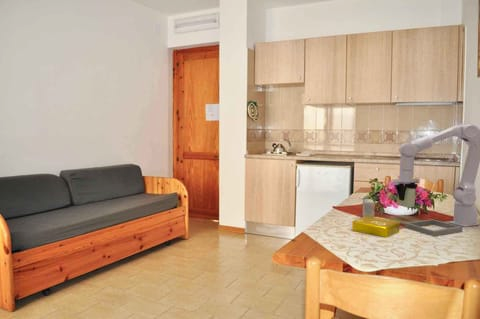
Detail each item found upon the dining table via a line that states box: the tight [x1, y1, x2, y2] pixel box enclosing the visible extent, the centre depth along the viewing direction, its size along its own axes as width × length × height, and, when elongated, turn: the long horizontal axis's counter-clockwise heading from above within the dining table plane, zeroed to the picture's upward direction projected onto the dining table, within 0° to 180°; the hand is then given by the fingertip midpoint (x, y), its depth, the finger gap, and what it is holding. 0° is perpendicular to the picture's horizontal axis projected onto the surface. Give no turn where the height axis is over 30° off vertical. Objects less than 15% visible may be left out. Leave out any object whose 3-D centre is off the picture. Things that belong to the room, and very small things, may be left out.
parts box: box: [396, 188, 416, 208], centre depth 174 cm, size 4×6×8 cm, turn 25°
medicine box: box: [361, 198, 375, 218], centre depth 179 cm, size 8×4×9 cm, turn 168°
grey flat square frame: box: [404, 218, 464, 237], centre depth 162 cm, size 17×14×2 cm
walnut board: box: [383, 214, 425, 227], centre depth 176 cm, size 14×12×1 cm
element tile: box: [351, 216, 401, 238], centre depth 160 cm, size 15×15×5 cm
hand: (405, 199), depth 175 cm, fingers closed on parts box, 4 cm apart
